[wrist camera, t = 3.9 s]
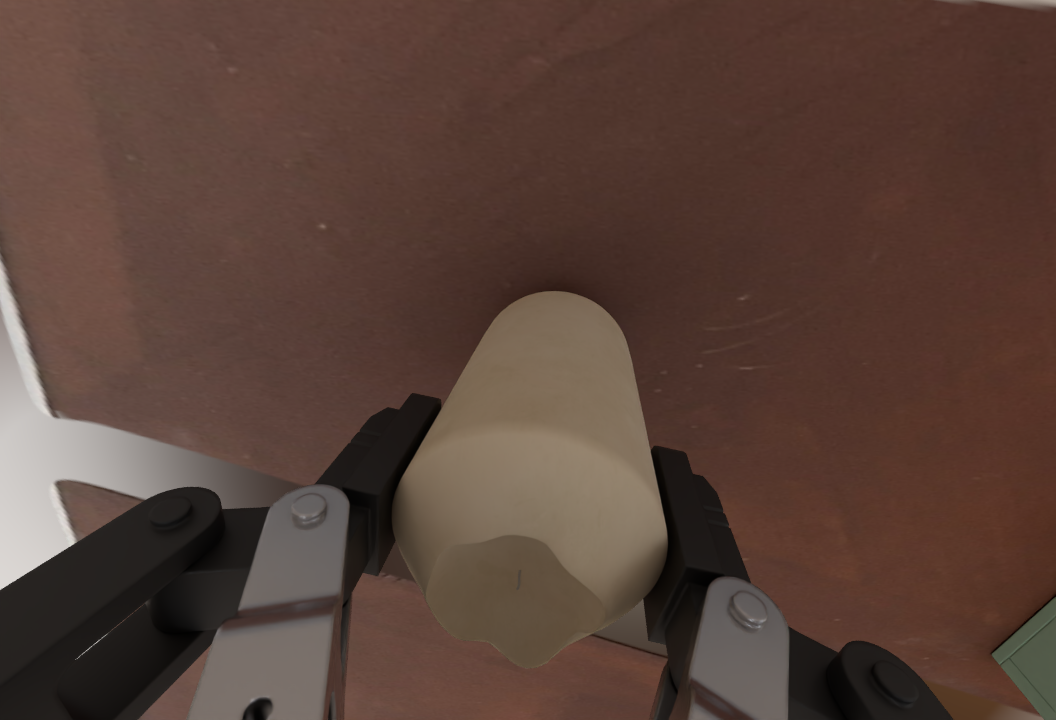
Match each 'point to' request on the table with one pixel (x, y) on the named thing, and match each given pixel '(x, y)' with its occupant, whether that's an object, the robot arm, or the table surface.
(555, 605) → the candle
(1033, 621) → the tray
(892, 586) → the table surface
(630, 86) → the table surface
